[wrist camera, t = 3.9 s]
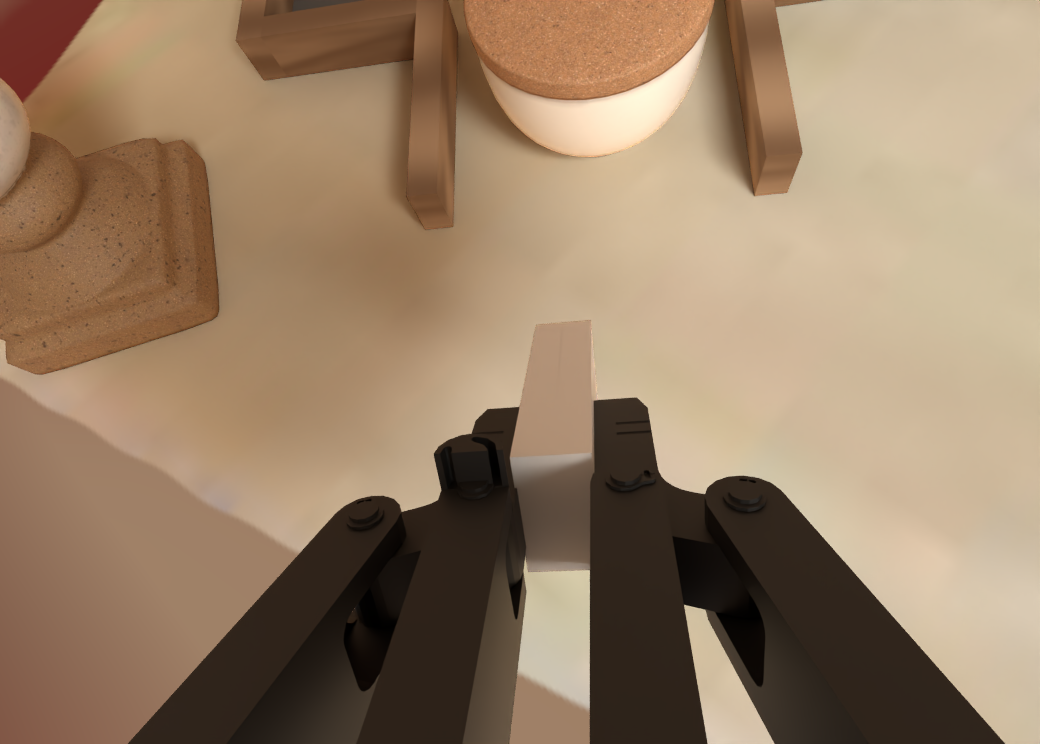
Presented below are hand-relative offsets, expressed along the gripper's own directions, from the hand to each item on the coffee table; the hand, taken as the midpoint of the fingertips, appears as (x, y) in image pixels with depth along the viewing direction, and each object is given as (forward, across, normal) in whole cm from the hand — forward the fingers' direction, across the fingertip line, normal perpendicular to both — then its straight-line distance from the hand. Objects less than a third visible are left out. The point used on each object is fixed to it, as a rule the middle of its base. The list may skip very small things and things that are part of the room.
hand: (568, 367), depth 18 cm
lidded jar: (+21, +1, +5) cm, 22 cm away
